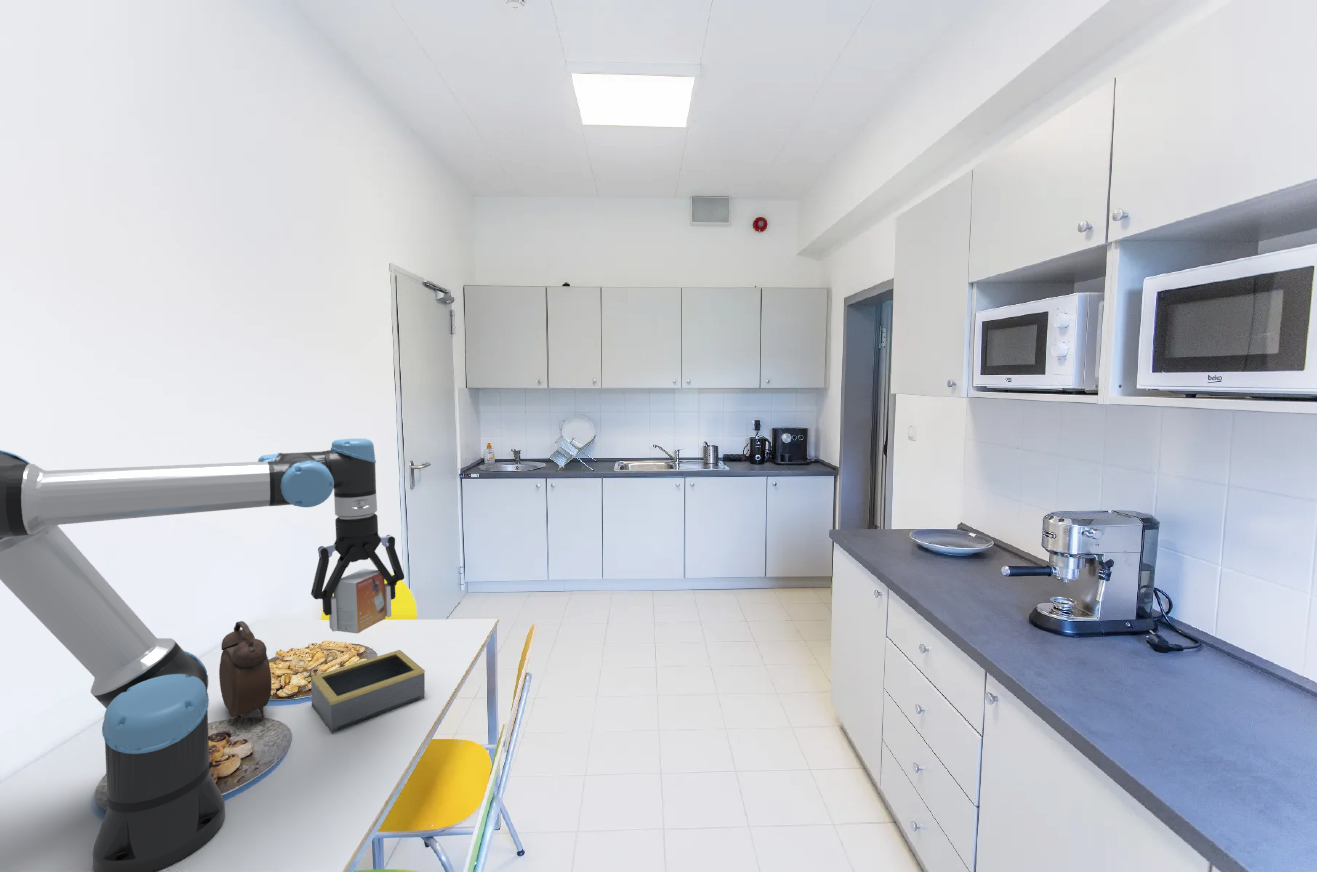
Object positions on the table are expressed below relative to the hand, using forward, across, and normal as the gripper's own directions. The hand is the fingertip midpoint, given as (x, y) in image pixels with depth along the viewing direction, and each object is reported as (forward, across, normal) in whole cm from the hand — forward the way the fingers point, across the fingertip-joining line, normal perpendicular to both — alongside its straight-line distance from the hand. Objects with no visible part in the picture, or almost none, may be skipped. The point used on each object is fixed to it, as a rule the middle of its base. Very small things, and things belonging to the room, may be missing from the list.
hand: (361, 621), depth 114 cm
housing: (+22, +3, +9) cm, 24 cm away
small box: (+1, 0, 0) cm, 1 cm away
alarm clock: (+22, -18, +20) cm, 35 cm away
